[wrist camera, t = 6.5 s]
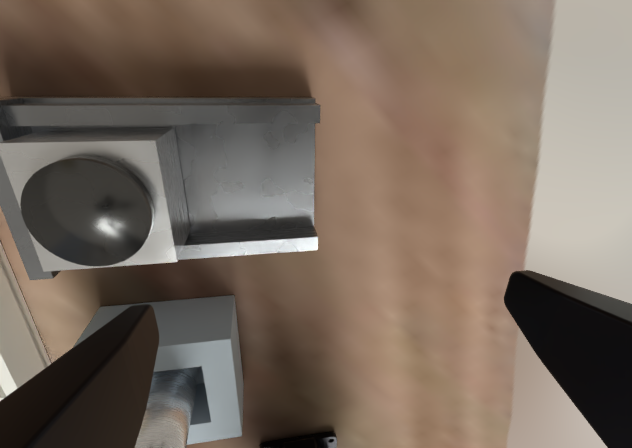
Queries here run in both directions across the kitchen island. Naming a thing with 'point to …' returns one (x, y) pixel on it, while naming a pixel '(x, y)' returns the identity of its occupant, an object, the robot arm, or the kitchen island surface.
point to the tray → (17, 335)
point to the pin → (169, 409)
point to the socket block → (198, 358)
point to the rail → (199, 165)
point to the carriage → (100, 195)
